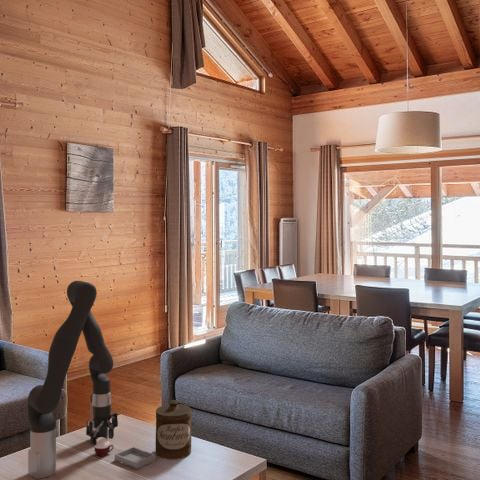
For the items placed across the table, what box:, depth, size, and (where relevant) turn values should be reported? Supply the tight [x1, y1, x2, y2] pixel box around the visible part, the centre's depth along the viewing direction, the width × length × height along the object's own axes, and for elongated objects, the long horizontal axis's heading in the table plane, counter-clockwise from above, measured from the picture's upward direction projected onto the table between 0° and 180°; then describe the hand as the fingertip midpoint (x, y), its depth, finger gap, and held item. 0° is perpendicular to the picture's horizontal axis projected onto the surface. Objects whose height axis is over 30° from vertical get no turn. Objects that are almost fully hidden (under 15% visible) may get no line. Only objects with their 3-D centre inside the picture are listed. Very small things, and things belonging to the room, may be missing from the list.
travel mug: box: [89, 393, 109, 440], centre depth 251 cm, size 8×8×20 cm
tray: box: [114, 446, 156, 470], centre depth 230 cm, size 10×13×2 cm
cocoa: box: [93, 437, 114, 457], centre depth 236 cm, size 10×6×12 cm, turn 85°
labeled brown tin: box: [155, 399, 192, 460], centre depth 238 cm, size 15×15×22 cm
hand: (102, 441), depth 236 cm, fingers open, 8 cm apart
